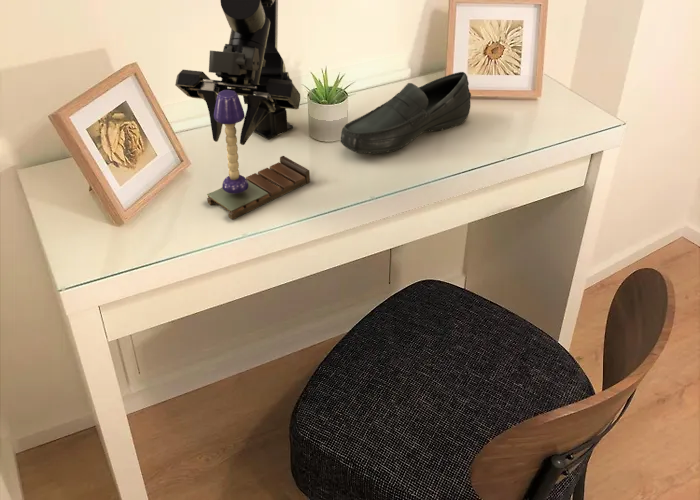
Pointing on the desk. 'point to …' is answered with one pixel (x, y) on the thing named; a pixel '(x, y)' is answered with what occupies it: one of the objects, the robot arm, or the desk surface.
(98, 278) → the desk surface
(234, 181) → the toy lamp
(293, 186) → the toy bed
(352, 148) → the loafer
